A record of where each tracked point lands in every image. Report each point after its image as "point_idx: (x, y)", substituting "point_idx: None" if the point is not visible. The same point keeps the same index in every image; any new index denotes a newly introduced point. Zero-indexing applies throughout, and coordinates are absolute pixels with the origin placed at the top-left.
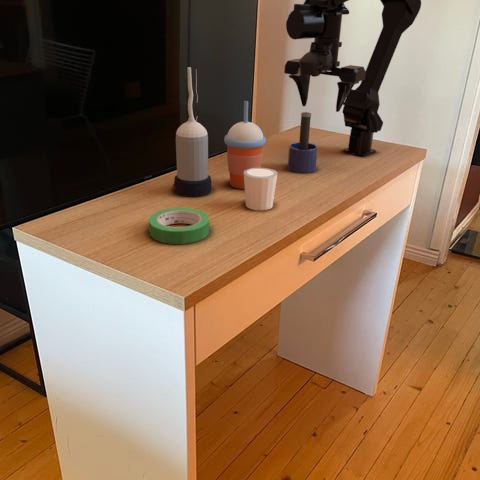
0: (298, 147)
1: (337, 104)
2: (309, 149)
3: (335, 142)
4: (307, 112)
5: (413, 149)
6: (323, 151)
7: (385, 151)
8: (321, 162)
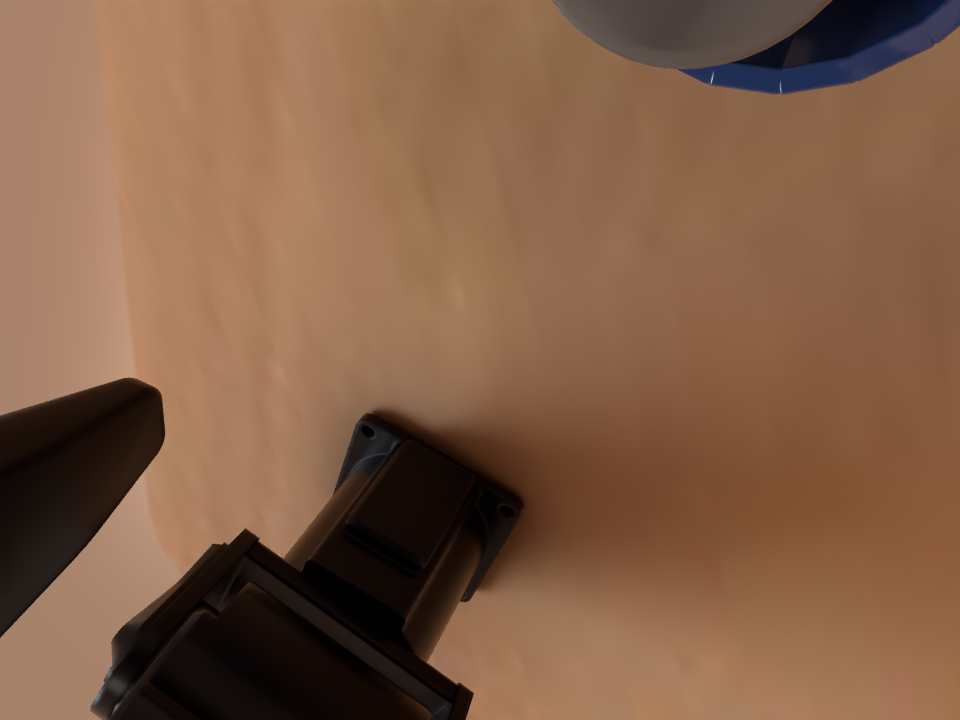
0: (907, 10)
1: (10, 437)
2: None
3: (629, 686)
4: (671, 55)
5: None
6: (676, 496)
7: (299, 536)
8: (632, 184)
